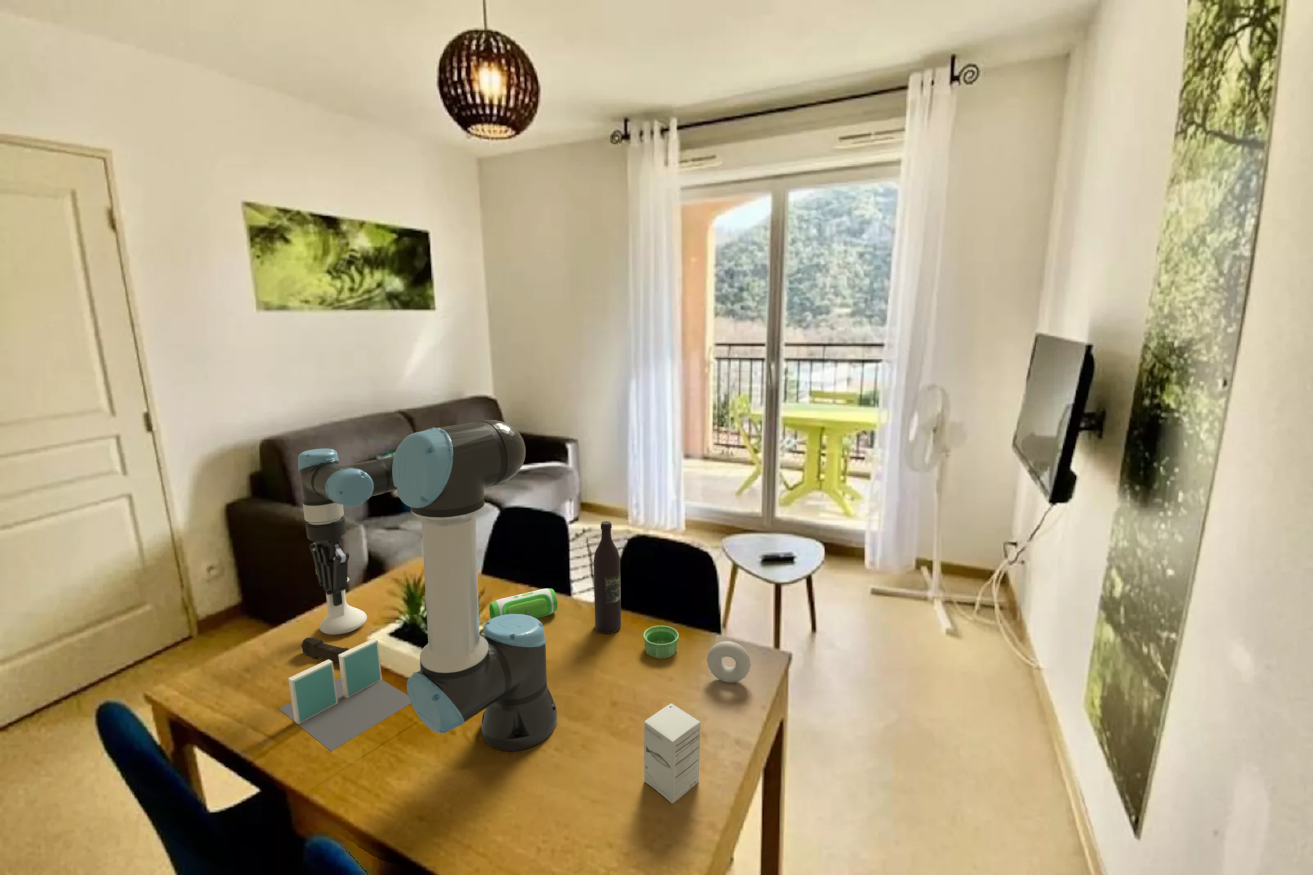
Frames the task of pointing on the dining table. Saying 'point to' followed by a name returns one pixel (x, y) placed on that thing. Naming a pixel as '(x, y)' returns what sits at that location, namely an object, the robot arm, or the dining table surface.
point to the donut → (734, 652)
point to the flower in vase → (344, 619)
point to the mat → (352, 713)
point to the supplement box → (671, 752)
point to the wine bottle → (607, 583)
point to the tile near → (313, 691)
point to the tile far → (360, 667)
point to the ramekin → (660, 641)
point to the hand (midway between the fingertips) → (336, 616)
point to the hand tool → (321, 649)
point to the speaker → (526, 604)
